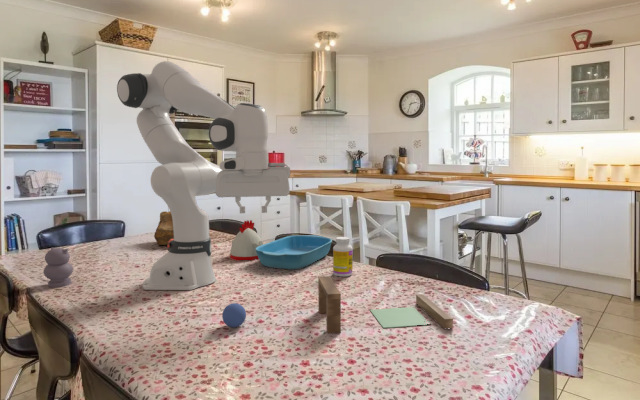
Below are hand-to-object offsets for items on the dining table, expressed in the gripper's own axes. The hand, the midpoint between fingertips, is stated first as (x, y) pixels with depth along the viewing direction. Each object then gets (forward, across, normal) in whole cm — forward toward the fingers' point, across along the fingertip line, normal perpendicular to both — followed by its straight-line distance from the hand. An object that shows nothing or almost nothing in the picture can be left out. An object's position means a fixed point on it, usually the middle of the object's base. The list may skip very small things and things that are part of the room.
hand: (253, 212), depth 119 cm
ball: (+22, +5, +18) cm, 29 cm away
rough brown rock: (+26, +38, -86) cm, 97 cm away
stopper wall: (+25, -45, +19) cm, 55 cm away
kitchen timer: (+26, +3, -55) cm, 61 cm away
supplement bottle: (+25, -30, -22) cm, 45 cm away
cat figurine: (+25, +62, -26) cm, 72 cm away
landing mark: (+25, -36, +19) cm, 48 cm away
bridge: (+25, -18, +19) cm, 36 cm away
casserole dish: (+26, -16, -46) cm, 55 cm away
